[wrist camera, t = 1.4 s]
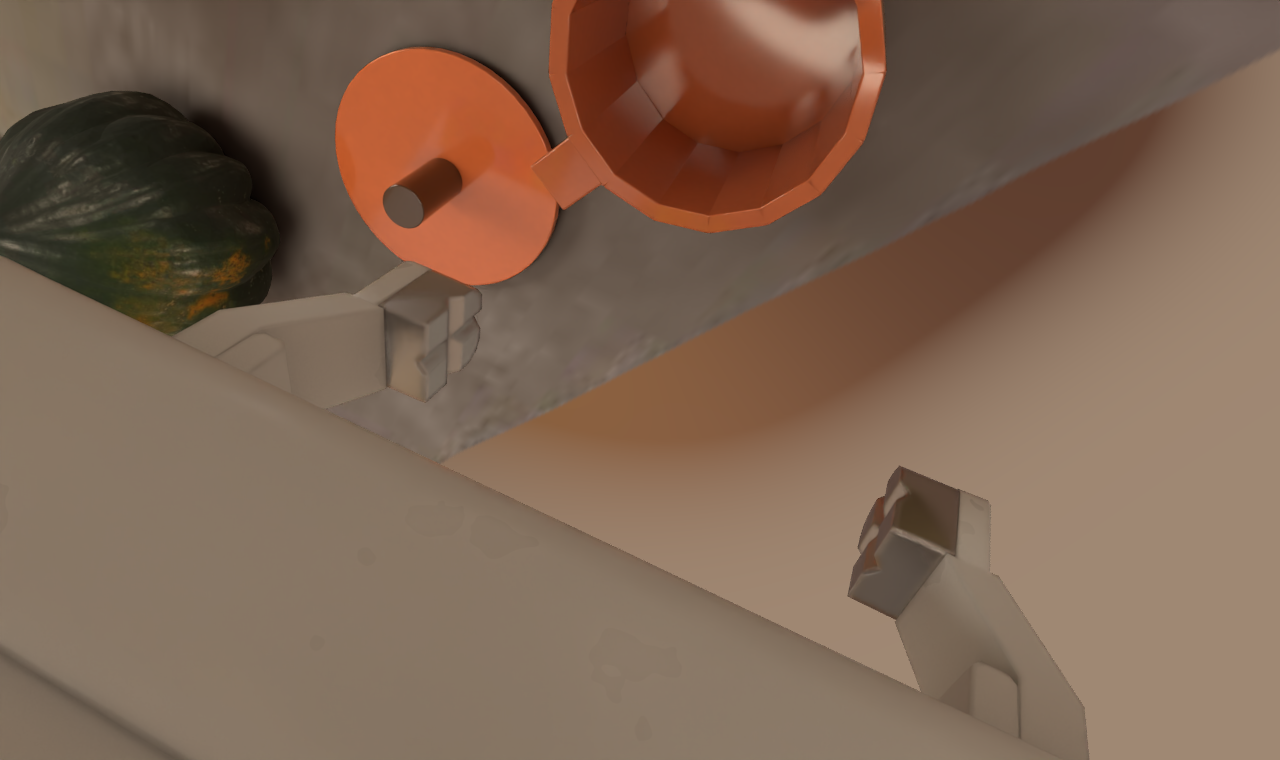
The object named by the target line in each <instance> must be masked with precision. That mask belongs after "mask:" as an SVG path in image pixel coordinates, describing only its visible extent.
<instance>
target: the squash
mask: <svg viewBox="0 0 1280 760" xmlns="http://www.w3.org/2000/svg"><path fill="white" fill-rule="evenodd" d="M251 192H252V179H251V176H250V174H249V172H248V170H247V168H246V167H245V166H244V165H243V164H242V163H241V162H239V161H237V160H235V159H232V158H230V157H227V156H224V154H223V151H222V150H221V148H220V146H219V145H218V143H217V142H216V141H215V140H214V138H213V137H212V136H211V135H210V134H209V133H208V132H207V131H205V130H204V129H203V128H201V127H199V126H197V125H196V124H194V123H192V122H188V120H187V119H186V118H185V117H184V116H183V115H182V114H181V113H180V112H179V111H177V110H176V109H175V108H173V107H172V106H171V105H169V104H168V103H166V102H164V101H162V100H161V99H159V98H157V97H155V96H153V95H151V94H147V93H141V92H131V91H110V92H104V93H98V94H93V95H89V96H86V97H83V98H79V99H76V100H73V101H70V102H67V103H63V104H60V105H56V106H52V107H48V108H44V109H41V110H38V111H35V112H32V113H31V114H29V115H28V116H26V117H25V118H23V119H21V120H20V121H18V122H17V123H15V124H14V125H13V126H12V127H10V128H9V129H8V130H7V132H6V133H5V135H4V136H3V138H2V139H1V141H0V256H3V257H5V258H8V259H10V260H12V261H14V262H16V263H18V264H20V265H22V266H24V267H26V268H28V269H30V270H32V271H34V272H36V273H38V274H40V275H42V276H44V277H46V278H49V279H51V280H53V281H55V282H57V283H59V284H61V285H63V286H65V287H68V288H70V289H72V290H74V291H76V292H78V293H80V294H82V295H84V296H86V297H89V298H91V299H93V300H95V301H97V302H99V303H101V304H103V305H105V306H108V307H110V308H112V309H114V310H116V311H118V312H120V313H122V314H124V315H126V316H129V317H131V318H133V319H135V320H137V321H139V322H141V323H143V324H145V325H148V326H150V327H152V328H154V329H156V330H158V331H160V332H162V333H164V334H166V335H169V336H171V337H172V336H174V335H176V334H177V333H179V332H181V331H183V330H184V329H186V328H188V327H190V326H192V325H193V324H195V323H197V322H199V321H201V320H202V319H204V318H206V317H208V316H209V315H211V314H213V313H215V312H217V311H218V310H223V309H230V308H237V307H244V306H252V305H259V304H261V303H262V302H263V300H264V299H265V297H266V296H267V294H268V291H269V288H270V285H271V280H272V266H271V260H270V259H271V258H272V257H273V256H274V254H275V252H276V251H277V249H278V247H279V244H280V234H279V231H278V228H277V225H276V222H275V219H274V217H273V215H272V214H271V213H270V212H269V210H268V209H267V208H266V207H264V206H263V205H262V204H261V203H260V202H257V201H255V200H253V199H249V198H250V195H251Z"/></svg>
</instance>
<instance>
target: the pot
mask: <svg viewBox="0 0 1280 760" xmlns="http://www.w3.org/2000/svg"><path fill="white" fill-rule="evenodd" d="M886 71H887V64H886V25H885V12H884V0H553V2H552V10H551V32H550V53H549V78H550V81H551V84H552V88H553V91H554V94H555V98H556V101H557V104H558V108H559V111H560V114H561V118H562V121H563V124H564V127H565V131H566V134H567V136H568V137H567V138H566V139H564V140H563V141H562V142H561V143H559V144H558V145H557V146H555V147H554V148H553V149H551V150H550V151H549V152H548V153H546V154H545V155H544V156H542V157H541V158H540V159H538V160H537V161H536V162H535V163H534V164H533V165H532V166H531V169H532V170H533V171H534V173H535V174H536V175H537V177H538V178H539V179H540V180H541V182H542V183H543V184H544V186H545V187H546V188H547V190H548V191H549V192H550V194H551V195H552V196H553V197H554V199H555V200H556V201H557V203H558V204H559V205H560V207H561V208H562V209H563V210H566V209H567V208H568V207H570V206H571V205H573V204H574V203H576V202H577V201H578V200H580V199H581V198H583V197H584V196H586V195H587V194H588V193H590V192H591V191H593V190H594V189H596V188H597V187H599V186H600V185H601V184H602V185H603V186H605V188H606V189H608V190H609V191H611V192H612V193H614V194H615V195H617V196H618V197H620V198H621V199H623V200H624V201H626V202H627V203H629V204H630V205H632V206H633V207H635V208H636V209H638V210H639V211H641V212H642V213H643V214H645V215H646V216H648V217H649V218H651V219H653V220H655V221H659V222H663V223H667V224H672V225H676V226H680V227H684V228H688V229H693V230H697V231H701V232H705V233H715V232H722V231H729V230H736V229H743V228H750V227H758V226H765V225H769V224H770V223H772V222H774V221H776V220H778V219H779V218H781V217H783V216H785V215H786V214H788V213H790V212H792V211H793V210H795V209H797V208H799V207H800V206H802V205H804V204H806V203H808V202H809V201H811V200H813V199H815V198H816V197H818V196H820V195H821V193H823V192H824V191H825V190H826V188H827V187H828V186H829V185H830V184H831V182H832V181H833V180H834V179H835V177H836V176H837V175H838V174H839V172H840V171H841V170H842V169H843V168H844V166H845V165H846V164H847V163H848V161H849V160H850V159H851V158H852V156H853V155H854V154H855V153H856V151H857V150H858V149H859V148H860V147H861V145H862V144H863V142H864V140H865V138H866V135H867V132H868V129H869V126H870V123H871V120H872V116H873V113H874V110H875V107H876V104H877V101H878V98H879V94H880V91H881V88H882V85H883V82H884V79H885V76H886Z"/></svg>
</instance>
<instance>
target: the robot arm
mask: <svg viewBox="0 0 1280 760" xmlns="http://www.w3.org/2000/svg"><path fill="white" fill-rule="evenodd" d="M481 309H482V294H481V293H480V292H479V290H478V289H476V288H474V287H471V286H469V285H467V284H465V283H462V282H460V281H458V280H456V279H453V278H451V277H449V276H447V275H444V274H442V273H440V272H438V271H435V270H432V269H430V268H428V267H426V266H423V265H421V264H419V263H416V262H414V261H405V262H404V263H402V264H400V265H399V266H397V267H396V268H394V269H393V270H391V271H390V272H388V273H387V274H385V275H384V276H382V277H380V278H379V279H377V280H376V281H374V282H373V283H371V284H370V285H368V286H367V287H365V288H363V289H362V290H360V291H359V292H357V293H356V294H354V295H352V294H349V293H347V292H345V293H338V294H331V295H324V296H317V297H309V298H302V299H295V300H288V301H280V302H273V303H266V304H259V305H252V306H244V307H237V308H230V309H223V310H218V311H217V312H215V313H213V314H211V315H209V316H208V317H206V318H204V319H202V320H201V321H199V322H197V323H195V324H193V325H192V326H190V327H188V328H186V329H184V330H183V331H181V332H179V333H177V334H176V335H174V336H172V337H171V336H169V335H166V334H164V333H162V332H160V331H158V330H156V329H154V328H152V327H150V326H148V325H145V324H143V323H141V322H139V321H137V320H135V319H133V318H131V317H129V316H126V315H124V314H122V313H120V312H118V311H116V310H114V309H112V308H110V307H108V306H105V305H103V304H101V303H99V302H97V301H95V300H93V299H91V298H89V297H86V296H84V295H82V294H80V293H78V292H76V291H74V290H72V289H70V288H68V287H65V286H63V285H61V284H59V283H57V282H55V281H53V280H51V279H49V278H46V277H44V276H42V275H40V274H38V273H36V272H34V271H32V270H30V269H28V268H26V267H24V266H22V265H20V264H18V263H16V262H14V261H12V260H10V259H8V258H5V257H3V256H0V760H1089V751H1088V741H1087V730H1086V719H1085V710H1084V706H1083V704H1082V703H1081V702H1080V700H1079V698H1078V697H1077V695H1076V694H1075V692H1074V691H1073V689H1072V688H1071V686H1070V685H1069V683H1068V682H1067V680H1066V679H1065V677H1064V675H1063V674H1062V673H1061V671H1060V669H1059V668H1058V666H1057V665H1056V663H1055V662H1054V660H1053V659H1052V657H1051V655H1050V654H1049V653H1048V651H1047V649H1046V648H1045V646H1044V645H1043V643H1042V642H1041V640H1040V639H1039V637H1038V636H1037V634H1036V633H1035V631H1034V629H1033V628H1032V627H1031V625H1030V623H1029V622H1028V620H1027V619H1026V617H1025V616H1024V615H1023V613H1022V611H1021V610H1020V608H1019V606H1018V605H1017V603H1016V602H1015V600H1014V599H1013V597H1012V596H1011V594H1010V593H1009V591H1008V590H1007V588H1006V587H1005V585H1004V584H1003V582H1002V581H1001V579H1000V577H999V576H997V575H995V574H993V573H990V520H991V517H990V516H991V514H990V513H991V505H990V503H989V502H988V500H985V499H983V498H980V497H978V496H975V495H972V494H970V493H967V492H965V491H962V490H960V489H954V488H952V487H950V486H947V485H945V484H943V483H940V482H938V481H935V480H933V479H930V478H928V477H926V476H923V475H921V474H918V473H916V472H913V471H911V470H909V469H906V468H904V467H901V466H899V467H898V468H897V469H896V470H895V471H894V473H893V474H892V476H891V477H890V479H889V481H888V484H887V489H886V494H885V496H883V497H881V498H878V499H877V500H876V502H875V504H874V505H873V507H872V509H871V511H870V513H869V515H868V517H867V519H866V522H865V524H864V526H863V530H862V533H861V536H860V540H859V544H858V549H859V551H860V553H861V556H860V557H859V559H858V560H857V562H856V564H855V565H854V567H853V572H852V577H851V582H850V587H849V592H848V597H850V598H852V599H854V600H856V601H858V602H860V603H862V604H864V605H867V606H869V607H871V608H873V609H875V610H877V611H879V612H881V613H883V614H885V615H887V616H889V617H891V618H893V619H895V620H896V621H895V624H896V626H897V629H898V632H899V634H900V637H901V640H902V642H903V645H904V647H905V650H906V653H907V656H908V658H909V661H910V664H911V666H912V669H913V671H914V674H915V677H916V679H917V682H918V685H919V687H920V690H921V692H920V691H918V690H916V689H914V688H911V687H909V686H907V685H905V684H903V683H901V682H899V681H897V680H895V679H892V678H890V677H888V676H886V675H884V674H882V673H880V672H878V671H876V670H873V669H871V668H869V667H867V666H865V665H863V664H861V663H859V662H857V661H855V660H852V659H850V658H848V657H846V656H844V655H842V654H840V653H838V652H835V651H833V650H831V649H829V648H827V647H825V646H823V645H821V644H818V643H816V642H814V641H812V640H810V639H808V638H806V637H803V636H801V635H799V634H797V633H795V632H793V631H791V630H788V629H786V628H784V627H782V626H780V625H778V624H776V623H774V622H771V621H769V620H767V619H765V618H763V617H761V616H759V615H757V614H755V613H753V612H751V611H749V610H746V609H744V608H742V607H740V606H738V605H736V604H734V603H732V602H730V601H728V600H725V599H723V598H721V597H719V596H717V595H715V594H713V593H711V592H709V591H707V590H704V589H702V588H700V587H698V586H696V585H694V584H692V583H690V582H688V581H685V580H683V579H681V578H679V577H677V576H675V575H672V574H671V573H668V572H666V571H664V570H662V569H660V568H658V567H656V566H654V565H652V564H650V563H648V562H646V561H643V560H641V559H639V558H637V557H635V556H633V555H631V554H629V553H626V552H624V551H622V550H620V549H618V548H616V547H614V546H612V545H610V544H608V543H605V542H603V541H601V540H599V539H597V538H595V537H593V536H591V535H589V534H586V533H584V532H582V531H580V530H578V529H576V528H573V527H572V526H570V525H567V524H565V523H563V522H561V521H559V520H557V519H555V518H552V517H550V516H548V515H546V514H544V513H542V512H540V511H538V510H536V509H533V508H531V507H529V506H527V505H525V504H523V503H521V502H519V501H516V500H514V499H512V498H510V497H508V496H506V495H504V494H502V493H500V492H497V491H495V490H493V489H491V488H489V487H487V486H485V485H483V484H481V483H478V482H476V481H474V480H472V479H470V478H468V477H466V476H464V475H461V474H459V473H457V472H455V471H453V470H451V469H449V468H447V467H445V466H443V465H440V464H438V463H436V462H434V461H432V460H430V459H428V458H426V457H424V456H422V455H419V454H417V453H415V452H413V451H411V450H409V449H407V448H405V447H403V446H400V445H398V444H396V443H394V442H392V441H390V440H388V439H386V438H384V437H381V436H379V435H377V434H375V433H373V432H371V431H369V430H367V429H365V428H362V427H360V426H358V425H356V424H354V423H352V422H350V421H348V420H346V419H344V418H341V417H339V416H337V415H335V414H333V413H331V412H329V411H327V410H325V409H328V408H331V407H334V406H337V405H340V404H343V403H346V402H349V401H352V400H355V399H358V398H361V397H364V396H367V395H370V394H373V393H375V392H378V391H381V390H384V389H386V388H387V387H389V388H391V389H394V390H396V391H398V392H401V393H403V394H405V395H408V396H410V397H413V398H415V399H417V400H420V401H422V402H424V403H426V402H427V401H428V400H429V399H431V398H432V397H433V396H434V395H435V394H436V393H437V392H438V391H439V390H440V389H441V388H443V387H444V386H445V385H446V383H447V374H451V373H455V372H459V371H461V370H462V369H463V368H464V367H465V366H466V365H467V364H468V363H469V362H470V360H471V358H472V356H473V355H474V353H475V351H476V349H477V346H478V342H479V338H480V327H479V325H478V323H477V321H476V319H475V317H474V315H475V314H477V313H478V312H479V311H480V310H481Z"/></svg>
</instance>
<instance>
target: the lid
mask: <svg viewBox="0 0 1280 760" xmlns="http://www.w3.org/2000/svg"><path fill="white" fill-rule="evenodd" d="M335 143H336V154H337V159H338V165H339V169H340V172H341V176H342V179H343V182H344V184H345V187H346V189H347V192H348V194H349V196H350V198H351V200H352V202H353V204H354V206H355V208H356V210H357V211H358V213H359V214H360V216H361V217H362V219H363V220H364V222H365V223H366V224H367V226H368V227H369V228H370V229H371V231H372V232H373V233H374V234H375V236H376V237H377V238H378V239H379V240H380V241H381V242H382V243H383V244H384V245H385V246H386V247H387V248H388V249H390V250H391V251H392V252H393V253H394V254H395V255H397V256H398V257H399V258H401V259H402V260H403V261H414V262H416V263H419V264H421V265H423V266H426V267H428V268H430V269H432V270H435V271H438V272H440V273H442V274H444V275H447V276H449V277H451V278H453V279H456V280H458V281H460V282H462V283H465V284H467V285H487V284H492V283H497V282H501V281H503V280H506V279H509V278H511V277H513V276H515V275H517V274H518V273H520V272H522V271H523V270H524V269H526V268H527V267H528V266H529V265H531V264H532V262H533V261H534V260H535V259H536V258H537V257H538V256H539V255H540V254H541V252H542V251H543V249H544V248H545V246H546V245H547V243H548V242H549V240H550V237H551V235H552V233H553V231H554V228H555V224H556V221H557V217H558V211H559V204H558V203H557V201H556V200H555V199H554V197H553V196H552V195H551V194H550V192H549V191H548V190H547V188H546V187H545V186H544V184H543V183H542V182H541V180H540V179H539V178H538V177H537V175H536V174H535V173H534V171H533V170H532V169H531V166H532V165H533V164H534V163H535V162H536V161H537V160H538V159H540V158H541V157H542V156H544V155H545V154H546V153H548V152H549V151H550V150H551V146H550V144H549V141H548V138H547V136H546V134H545V132H544V131H543V129H542V127H541V125H540V123H539V121H538V120H537V118H536V117H535V115H534V114H533V112H532V110H531V109H530V107H529V106H528V105H527V104H526V103H525V101H524V100H523V99H522V98H521V97H520V95H519V94H518V93H517V92H516V91H515V90H514V89H513V88H512V87H511V86H510V85H509V84H508V83H507V82H506V81H505V80H503V79H502V78H501V77H499V76H498V75H497V74H496V73H494V72H493V71H492V70H490V69H489V68H487V67H485V66H484V65H482V64H480V63H479V62H477V61H475V60H473V59H471V58H469V57H466V56H464V55H462V54H459V53H456V52H453V51H449V50H446V49H441V48H434V47H409V48H404V49H398V50H396V51H393V52H390V53H388V54H385V55H382V56H380V57H378V58H377V59H375V60H373V61H372V62H370V63H368V64H367V65H366V66H365V67H364V68H363V69H362V70H360V71H359V72H358V73H357V75H356V76H355V77H354V78H353V80H352V81H351V82H350V84H349V86H348V87H347V89H346V91H345V93H344V95H343V97H342V100H341V103H340V106H339V109H338V114H337V120H336V130H335Z"/></svg>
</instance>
